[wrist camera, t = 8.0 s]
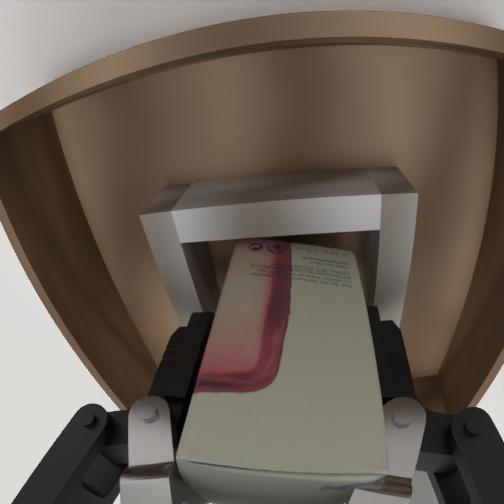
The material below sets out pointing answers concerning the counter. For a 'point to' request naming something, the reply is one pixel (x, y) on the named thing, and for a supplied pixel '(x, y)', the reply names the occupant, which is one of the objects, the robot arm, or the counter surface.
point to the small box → (286, 383)
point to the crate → (269, 184)
